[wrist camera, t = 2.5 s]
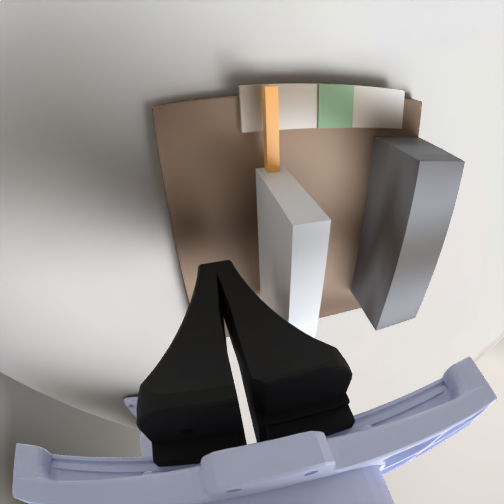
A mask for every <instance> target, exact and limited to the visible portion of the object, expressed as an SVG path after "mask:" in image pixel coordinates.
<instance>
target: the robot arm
mask: <svg viewBox="0 0 504 504" xmlns="http://www.w3.org/2000/svg"><path fill="white" fill-rule="evenodd" d="M224 320H225V323H226V326H227V330H228V333H229V336H230V339H231V342H232V345H233V348H234V351H235V354H236V357H237V360H238V364H239V367H240V371H241V376H242V380H243V385H244V389H245V393H246V398H247V402H248V406H249V411H250V415H251V419H252V423H253V428H254V432H255V436H256V440H257V443H253V444H248V445H247V444H246V439H245V434H244V428H243V423H242V418H241V413H240V408H239V403H238V398H237V393H236V389H235V384H234V380H233V376H232V372H231V367H230V363H229V358H228V354H227V345H226V335H225V324H224ZM351 379H352V372H351V370H350V367H349V365H348V364H347V362H346V360H345V359H344V358H343V356H342V355H341V353H340V352H339V351H338V349H337V348H335V347H333V346H330V345H328V344H326V343H324V342H321V341H319V340H317V339H315V338H313V337H311V336H310V335H308V334H306V333H304V332H303V331H301V330H300V329H298V328H297V327H295V326H293V325H292V324H290V323H289V322H287V321H286V320H285V319H283V318H282V317H281V316H279V315H278V314H277V313H276V312H275V311H273V310H272V309H271V308H270V307H269V306H268V305H267V304H266V303H265V302H263V301H262V300H261V299H260V298H259V297H258V295H257V294H256V293H255V292H254V291H253V290H252V289H251V288H250V287H249V285H248V284H247V283H246V282H245V281H244V279H243V278H242V277H241V275H240V274H239V273H238V271H237V270H236V268H235V266H234V265H233V263H232V261H230V260H224V261H218V262H212V263H206V264H200V265H199V266H198V273H197V279H196V284H195V288H194V291H193V295H192V298H191V301H190V304H189V307H188V309H187V312H186V315H185V317H184V319H183V322H182V324H181V326H180V328H179V330H178V332H177V334H176V336H175V338H174V339H173V341H172V343H171V345H170V346H169V348H168V350H167V351H166V353H165V354H164V356H163V357H162V359H161V360H160V361H159V363H158V364H157V366H156V367H155V368H154V370H153V371H152V372H151V373H150V374H149V376H148V377H147V378H146V379H145V380H144V382H143V383H142V384H141V386H140V389H139V394H138V397H127V398H125V399H124V404H125V405H126V407H127V408H128V409H129V410H130V411H131V413H132V414H133V415H134V416H135V417H136V419H137V426H138V428H139V430H140V443H141V457H125V458H124V457H123V458H108V457H105V458H103V457H79V456H65V455H54V454H51V453H50V452H48V451H47V450H46V449H44V448H41V447H38V446H34V445H27V444H20V443H18V444H16V451H15V452H16V453H15V463H14V474H13V493H12V495H13V497H14V498H17V499H19V500H21V501H24V502H26V503H28V504H394V502H393V500H392V497H391V495H390V492H389V490H388V488H387V485H386V483H385V481H384V479H383V476H382V475H383V474H386V473H388V472H390V471H392V470H394V469H396V468H398V467H400V466H402V465H403V464H405V463H407V462H409V461H411V460H413V459H415V458H416V457H418V456H420V455H422V454H423V453H425V452H427V451H429V450H430V449H432V448H434V447H435V446H437V445H439V444H440V443H442V442H444V441H445V440H447V439H448V438H450V437H452V436H453V435H454V434H456V433H458V432H459V431H461V430H462V429H464V428H465V427H467V426H468V425H470V424H471V423H472V422H473V421H474V420H475V419H476V418H477V417H478V416H480V415H481V414H482V413H483V412H484V411H485V410H486V409H487V408H488V407H489V406H490V405H491V404H492V403H493V402H494V401H495V400H496V399H497V397H496V395H495V394H494V392H493V390H492V389H491V387H490V386H489V384H488V383H487V381H486V380H485V378H484V376H483V375H482V373H481V372H480V371H479V369H478V368H477V366H476V365H475V363H474V362H473V360H472V359H471V357H467V358H465V359H463V360H462V361H460V362H458V363H456V364H454V365H453V366H451V367H450V368H449V369H448V370H447V371H446V372H445V373H444V375H443V377H442V378H441V379H439V380H437V381H435V382H433V383H431V384H429V385H427V386H425V387H423V388H421V389H419V390H416V391H414V392H412V393H410V394H408V395H405V396H403V397H401V398H398V399H396V400H394V401H391V402H389V403H386V404H384V405H381V406H379V407H376V408H374V409H371V410H369V411H366V412H363V413H360V414H358V415H355V416H353V414H352V412H351V410H350V408H349V405H348V404H349V398H348V396H347V394H346V391H347V389H348V386H349V384H350V381H351Z"/></svg>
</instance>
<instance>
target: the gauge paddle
mask: <svg viewBox="0 0 504 504" xmlns="http://www.w3.org/2000/svg"><path fill="white" fill-rule="evenodd" d="M262 107H263V136H264V167H265V168H256V193H257V217H258V243H259V269H260V297H261V300H262V301H263V302H265V303H266V304H267V305H268V306H269V307H270V308H271V309H272V310H273V311H275V312H276V313H277V314H278V315H279V316H281V317H282V318H283V319H285V320H286V321H287V322H289V323H290V324H292V325H293V326H295V327H297V328H298V329H300V330H301V331H303V332H304V333H306V334H308V335H310V336H311V337H313V338H315V336H316V330H317V324H318V318H319V311H320V305H321V298H322V291H323V283H324V276H325V268H326V260H327V252H328V243H329V234H330V225H331V219H330V218H329V217H328V216H327V215H326V213H325V212H324V211H323V210H322V209H321V208H320V206H319V205H318V204H317V203H316V202H315V201H314V200H313V198H312V197H311V196H310V195H309V194H308V193H307V192H306V190H305V189H304V188H303V187H302V186H301V185H300V184H299V183H298V181H297V180H296V179H295V178H294V177H293V176H292V175H291V174H290V173H289V171H288V170H287V169H286V168H285V167H284V166H280V155H279V99H278V86H275V85H268V86H262Z"/></svg>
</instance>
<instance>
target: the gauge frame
mask: <svg viewBox="0 0 504 504" xmlns="http://www.w3.org/2000/svg"><path fill="white" fill-rule="evenodd" d="M268 85H275V86H278V99H279V155H280V166H284V167H285V168H286V169H287V170H288V171H289V173H290V174H291V175H292V176H293V177H294V178H295V179H296V180H297V181H298V183H299V184H300V185H301V186H302V187H303V188H304V189H305V190H306V192H307V193H308V194H309V195H310V196H311V197H312V198H313V200H314V201H315V202H316V203H317V204H318V205H319V206H320V208H321V209H322V210H323V211H324V212H325V213H326V215H327V216H328V217H329V218H330V219H331V225H330V234H329V243H328V252H327V260H326V268H325V276H324V283H323V291H322V298H321V305H320V311H319V318H321V317H325V316H330V315H334V314H338V313H342V312H346V311H350V310H354V309H358V308H362V309H363V311H364V312H365V314H366V316H367V317H368V319H369V320H370V322H371V324H372V325H373V327H374V328H375V330H379V329H382V328H385V327H388V326H391V325H395V324H398V323H401V322H404V321H407V320H409V319H412V318H415V317H416V315H417V312H418V310H419V308H420V305H421V303H422V300H423V298H424V295H425V293H426V290H427V288H428V285H429V283H430V280H431V277H432V275H433V272H434V269H435V267H436V264H437V261H438V258H439V255H440V252H441V249H442V246H443V243H444V240H445V237H446V234H447V230H448V227H449V224H450V220H451V217H452V213H453V209H454V206H455V202H456V198H457V194H458V190H459V186H460V181H461V177H462V172H463V168H464V163H465V162H464V161H463V160H461V159H459V158H457V157H456V156H454V155H452V154H450V153H448V152H446V151H444V150H443V149H441V148H439V147H437V146H435V145H433V144H431V143H429V142H427V141H425V140H423V139H421V138H419V137H418V135H419V126H420V117H421V107H422V102H421V101H417V100H414V99H409V98H404V96H405V91H404V90H399V89H391V88H382V87H372V86H360V85H345V84H322V83H275V84H252V85H238V90H239V95H231V96H220V97H211V98H202V99H194V100H187V101H180V102H174V103H167V104H161V105H156V106H153V108H152V111H153V119H154V126H155V133H156V139H157V146H158V152H159V158H160V164H161V170H162V176H163V182H164V187H165V193H166V198H167V204H168V209H169V214H170V219H171V224H172V229H173V234H174V238H175V243H176V248H177V252H178V257H179V261H180V266H181V270H182V274H183V279H184V283H185V287H186V291H187V295H188V299H189V303H190V301H191V298H192V295H193V291H194V288H195V284H196V279H197V273H198V266H199V265H200V264H206V263H212V262H218V261H224V260H230V261H232V263H233V265H234V266H235V268H236V270H237V271H238V273H239V274H240V275H241V277H242V278H243V279H244V281H245V282H246V283H247V284H248V285H249V287H250V288H251V289H252V290H253V291H254V292H255V293H256V294H257V295H258V297H259V298H260V299H261V297H260V269H259V243H258V217H257V193H256V168H265V167H264V136H263V107H262V86H268ZM224 324H225V335H226V337H229V333H228V330H227V326H226V323H225V320H224Z"/></svg>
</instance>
